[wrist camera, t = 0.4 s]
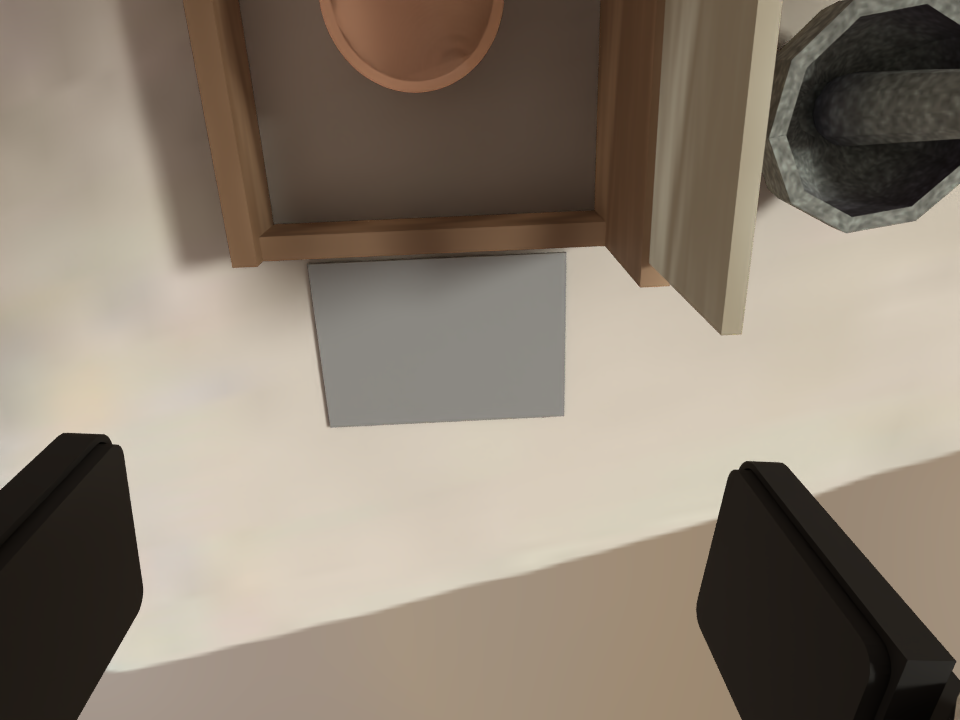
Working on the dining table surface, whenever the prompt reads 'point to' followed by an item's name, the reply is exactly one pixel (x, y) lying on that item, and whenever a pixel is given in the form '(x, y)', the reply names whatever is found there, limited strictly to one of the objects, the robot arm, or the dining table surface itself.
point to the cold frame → (619, 155)
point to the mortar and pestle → (867, 113)
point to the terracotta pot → (413, 38)
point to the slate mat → (441, 338)
